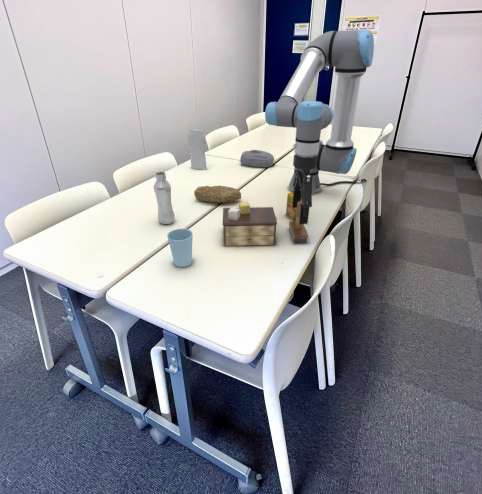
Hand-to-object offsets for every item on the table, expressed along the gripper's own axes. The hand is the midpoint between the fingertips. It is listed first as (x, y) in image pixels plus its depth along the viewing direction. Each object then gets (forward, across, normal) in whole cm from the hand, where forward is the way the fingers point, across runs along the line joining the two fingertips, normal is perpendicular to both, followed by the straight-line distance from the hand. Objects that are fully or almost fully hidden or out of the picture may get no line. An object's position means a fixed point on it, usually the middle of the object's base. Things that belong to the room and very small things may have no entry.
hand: (299, 215), depth 113 cm
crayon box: (+9, -15, +1) cm, 18 cm away
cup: (+9, +16, -40) cm, 44 cm away
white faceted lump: (0, +2, -23) cm, 23 cm away
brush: (+9, 0, 0) cm, 9 cm away
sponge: (+9, -34, -30) cm, 46 cm away
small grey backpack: (+8, -88, -8) cm, 89 cm away
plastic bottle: (+9, -13, -50) cm, 52 cm away
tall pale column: (+8, -82, -43) cm, 93 cm away
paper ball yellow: (0, -3, -19) cm, 20 cm away
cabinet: (+9, 0, -18) cm, 20 cm away
